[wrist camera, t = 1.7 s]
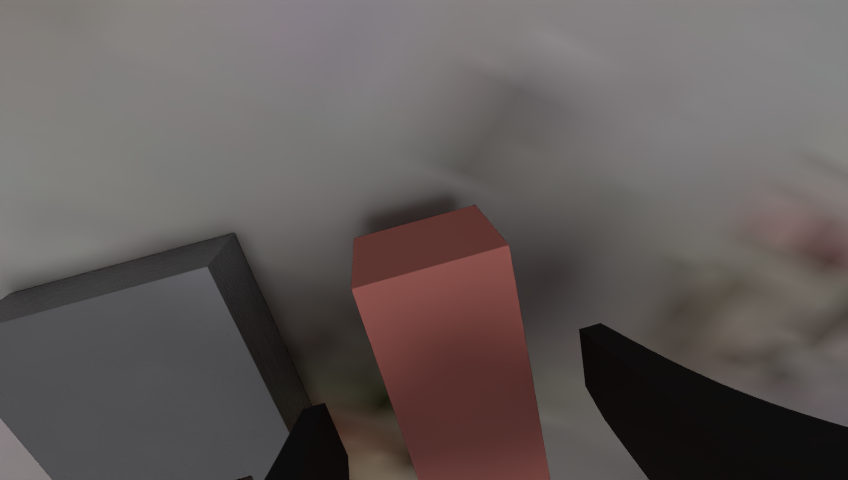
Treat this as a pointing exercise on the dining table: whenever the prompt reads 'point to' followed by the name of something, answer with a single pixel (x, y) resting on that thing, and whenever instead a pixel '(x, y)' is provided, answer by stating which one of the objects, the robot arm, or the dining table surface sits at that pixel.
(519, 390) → the clip
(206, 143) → the dining table surface
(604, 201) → the dining table surface
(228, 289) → the rail
